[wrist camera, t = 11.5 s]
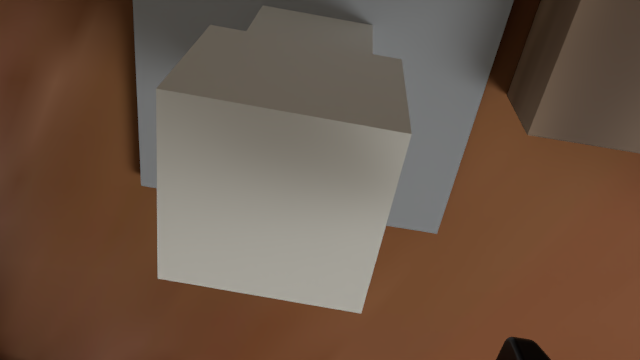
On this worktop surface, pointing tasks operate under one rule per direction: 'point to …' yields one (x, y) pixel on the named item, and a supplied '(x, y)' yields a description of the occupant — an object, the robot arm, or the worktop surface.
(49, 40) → the worktop surface
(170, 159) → the end cover
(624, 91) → the walnut bore block
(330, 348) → the worktop surface
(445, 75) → the grey mat
